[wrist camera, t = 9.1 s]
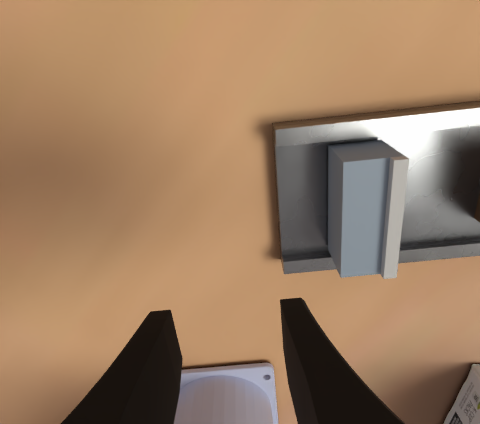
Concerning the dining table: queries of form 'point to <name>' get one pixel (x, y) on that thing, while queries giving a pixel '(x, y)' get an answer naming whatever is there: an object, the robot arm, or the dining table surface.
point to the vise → (417, 189)
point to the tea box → (467, 401)
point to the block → (477, 210)
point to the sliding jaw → (366, 207)
